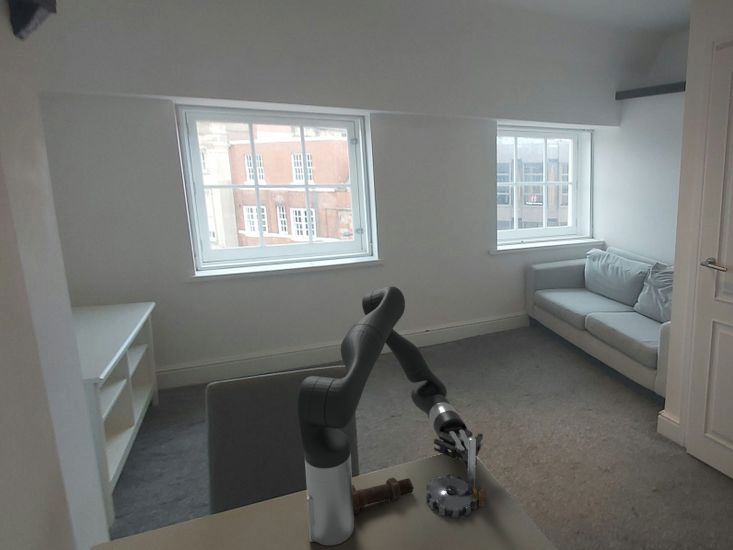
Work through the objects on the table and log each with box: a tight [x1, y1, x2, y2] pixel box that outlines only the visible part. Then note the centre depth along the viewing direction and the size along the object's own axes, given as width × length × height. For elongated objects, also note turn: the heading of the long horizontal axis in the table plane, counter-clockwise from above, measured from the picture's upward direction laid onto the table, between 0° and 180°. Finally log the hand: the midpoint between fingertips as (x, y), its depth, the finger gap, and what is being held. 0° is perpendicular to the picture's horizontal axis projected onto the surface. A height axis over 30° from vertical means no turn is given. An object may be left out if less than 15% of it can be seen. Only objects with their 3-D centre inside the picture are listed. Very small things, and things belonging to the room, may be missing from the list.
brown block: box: [478, 489, 486, 508], centre depth 92 cm, size 1×2×2 cm, turn 167°
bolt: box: [352, 477, 414, 516], centre depth 94 cm, size 6×5×15 cm
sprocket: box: [425, 437, 478, 519], centre depth 93 cm, size 11×11×15 cm
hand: (472, 464), depth 93 cm, fingers closed
